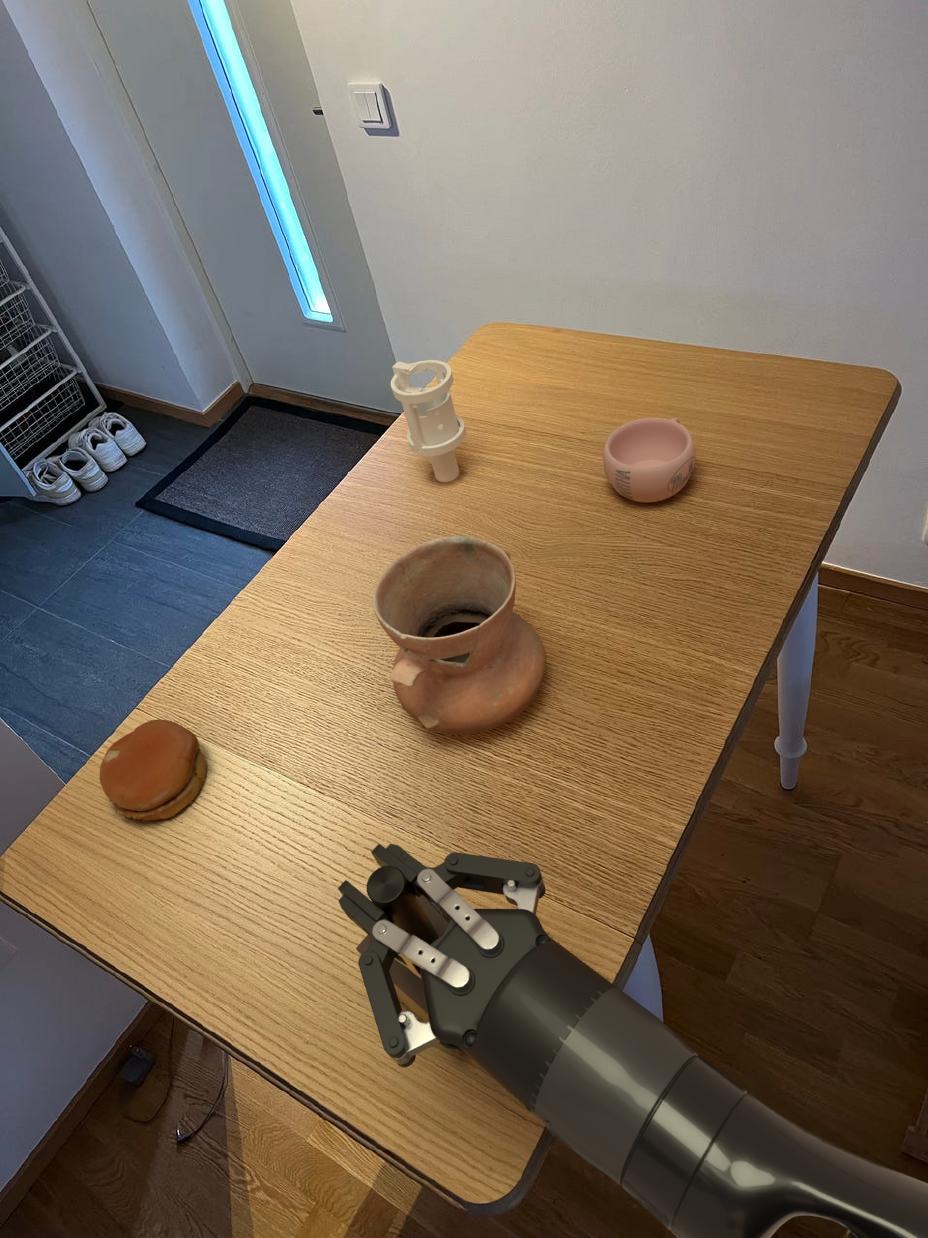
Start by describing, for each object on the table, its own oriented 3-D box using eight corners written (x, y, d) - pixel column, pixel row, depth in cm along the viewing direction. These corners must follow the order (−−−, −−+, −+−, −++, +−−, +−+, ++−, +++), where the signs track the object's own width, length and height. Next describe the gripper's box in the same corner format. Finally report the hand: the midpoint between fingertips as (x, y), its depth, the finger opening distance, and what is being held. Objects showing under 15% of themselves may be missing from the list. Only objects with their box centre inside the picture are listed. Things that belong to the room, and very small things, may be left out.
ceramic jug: (494, 783, 72) (461, 683, 62) (366, 728, 79) (317, 630, 69) (586, 637, 81) (570, 529, 71) (463, 599, 88) (432, 496, 78)
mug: (668, 523, 90) (667, 480, 86) (589, 499, 95) (584, 457, 91) (719, 458, 95) (720, 415, 91) (641, 439, 100) (639, 397, 96)
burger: (207, 810, 77) (184, 783, 73) (111, 837, 77) (84, 811, 74) (211, 726, 84) (191, 699, 80) (123, 751, 84) (99, 724, 81)
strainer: (441, 451, 107) (412, 346, 97) (485, 463, 104) (461, 355, 93) (408, 484, 104) (375, 379, 93) (453, 498, 100) (424, 390, 90)
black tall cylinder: (452, 1011, 60) (390, 915, 48) (421, 984, 62) (353, 884, 50) (473, 984, 61) (417, 883, 49) (442, 958, 63) (381, 854, 51)
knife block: (460, 1055, 58) (438, 1023, 53) (382, 983, 63) (355, 948, 58) (513, 984, 61) (497, 948, 56) (435, 920, 65) (413, 881, 60)
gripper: (656, 920, 43) (420, 761, 53) (486, 1165, 37) (256, 936, 47) (661, 972, 49) (446, 819, 58) (512, 1193, 43) (301, 982, 52)
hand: (362, 872), depth 53 cm, fingers closed on black tall cylinder, 2 cm apart
